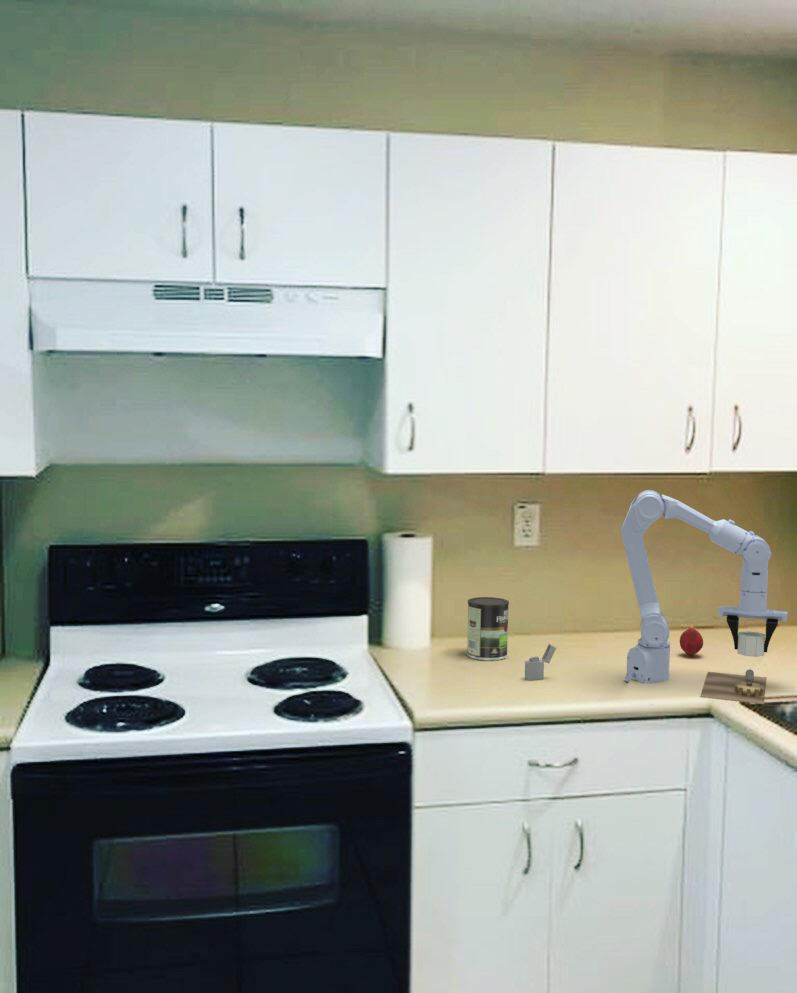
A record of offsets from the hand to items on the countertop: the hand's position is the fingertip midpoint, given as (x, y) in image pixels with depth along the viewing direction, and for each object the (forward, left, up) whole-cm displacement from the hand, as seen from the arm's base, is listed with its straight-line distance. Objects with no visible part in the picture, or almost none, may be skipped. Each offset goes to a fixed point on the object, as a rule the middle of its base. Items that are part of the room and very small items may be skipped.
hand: (750, 649), depth 230 cm
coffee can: (-34, +53, -9) cm, 64 cm away
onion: (+11, +27, -9) cm, 31 cm away
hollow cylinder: (0, 0, -1) cm, 1 cm away
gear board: (-5, 0, -9) cm, 10 cm away
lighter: (-36, +30, -9) cm, 48 cm away
